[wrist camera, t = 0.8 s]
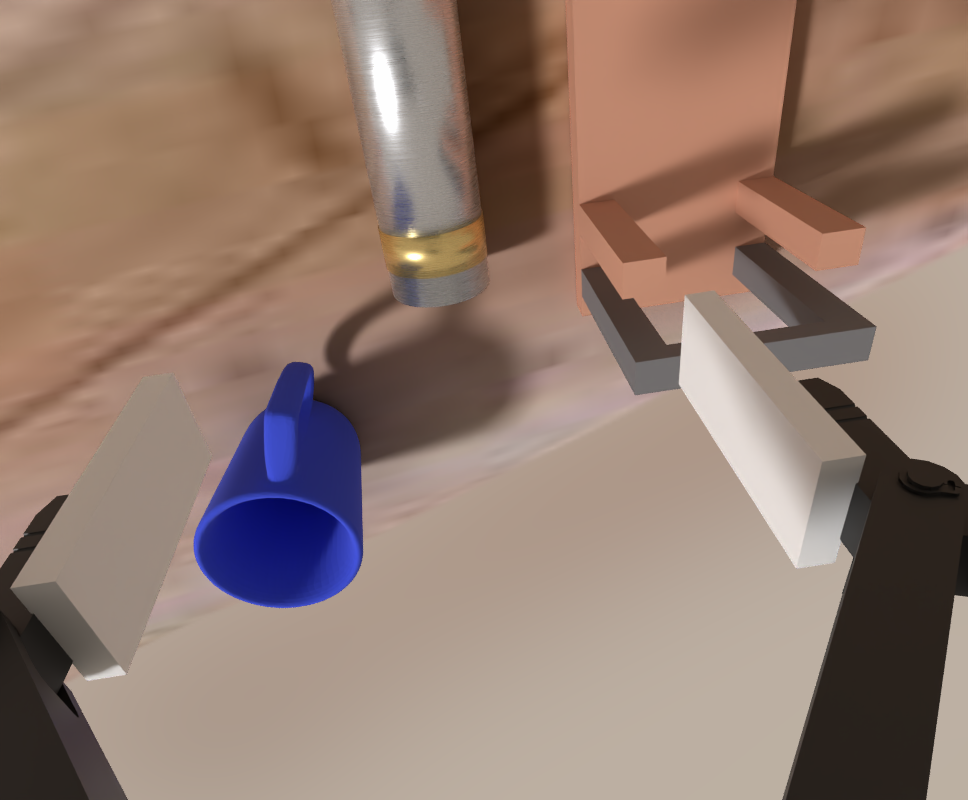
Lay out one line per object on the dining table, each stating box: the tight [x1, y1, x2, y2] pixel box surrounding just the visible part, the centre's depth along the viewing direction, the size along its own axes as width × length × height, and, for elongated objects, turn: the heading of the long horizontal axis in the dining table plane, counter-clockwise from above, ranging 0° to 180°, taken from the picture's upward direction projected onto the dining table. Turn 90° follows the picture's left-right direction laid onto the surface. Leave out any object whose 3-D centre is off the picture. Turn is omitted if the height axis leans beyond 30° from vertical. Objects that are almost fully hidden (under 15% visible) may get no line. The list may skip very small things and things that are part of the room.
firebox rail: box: [566, 0, 876, 395], centre depth 26 cm, size 25×10×12 cm, turn 7°
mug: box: [194, 362, 363, 608], centre depth 35 cm, size 8×12×10 cm
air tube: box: [331, 0, 490, 307], centre depth 28 cm, size 20×5×5 cm, turn 7°
